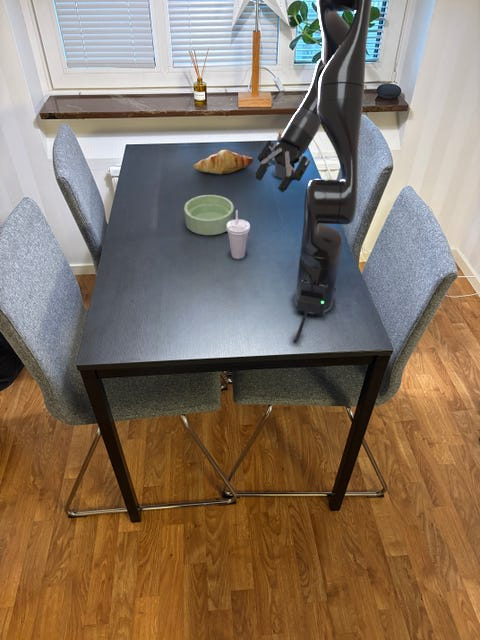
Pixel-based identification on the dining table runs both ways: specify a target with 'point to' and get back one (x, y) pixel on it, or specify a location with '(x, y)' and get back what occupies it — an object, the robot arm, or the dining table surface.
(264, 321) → the dining table surface
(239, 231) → the smoothie
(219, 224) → the bowl
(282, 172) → the bottle
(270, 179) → the dining table surface
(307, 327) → the dining table surface
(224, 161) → the croissant
